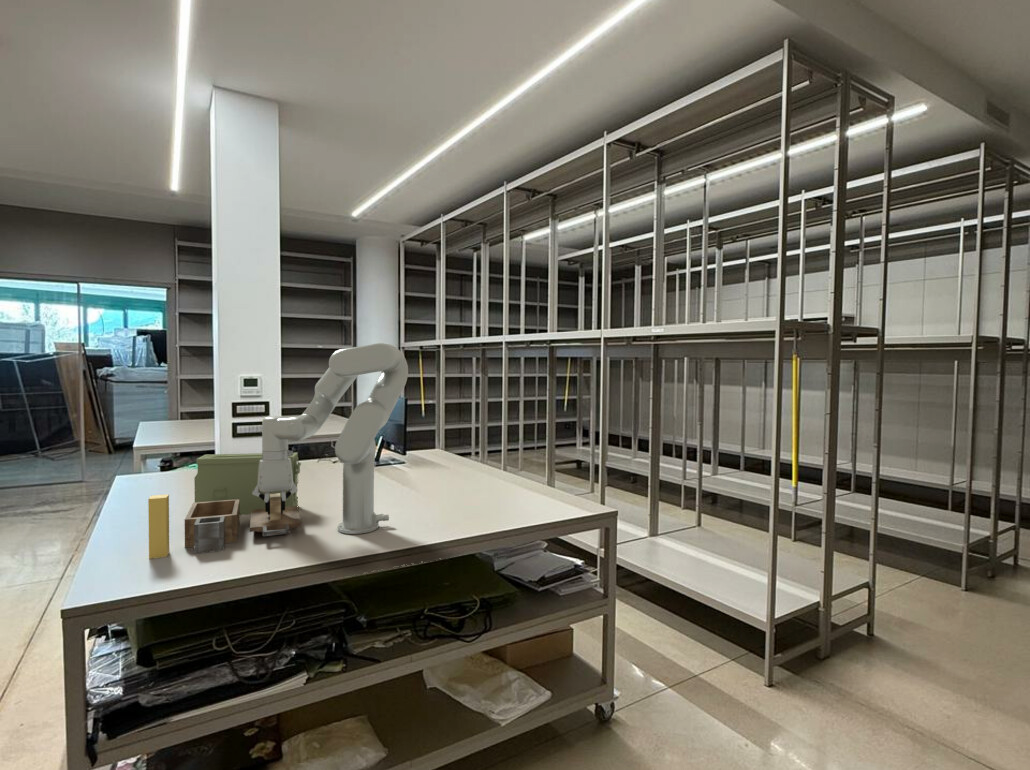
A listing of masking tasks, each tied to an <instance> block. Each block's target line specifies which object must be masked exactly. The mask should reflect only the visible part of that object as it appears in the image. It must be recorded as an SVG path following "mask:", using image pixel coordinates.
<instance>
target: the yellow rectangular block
mask: <svg viewBox="0 0 1030 770" xmlns="http://www.w3.org/2000/svg"><path fill="white" fill-rule="evenodd" d="M147 501H148V504H147V505H148V559H149V560H151V559H158V558H159V559H160V558H166V557H168V555H169V554H170V494H169V493H167V494H157V495H156V494H155V495H150V497H148V500H147Z"/></svg>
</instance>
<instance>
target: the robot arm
mask: <svg viewBox="0 0 1030 770" xmlns="http://www.w3.org/2000/svg"><path fill="white" fill-rule="evenodd" d="M379 372H380V375H379V378H378V379H377V381H376V382H375V384H374V386H373V389H372V390H371V392H370V393H369V396H368V397H367V399H366V400H364V401H363V402H361V403H359V404H357V406H355V408H354V409H353V410H352V411H351V414H350V415H349V417H348V419H347V421H346V423H345V425H344V426H343V429H342V431H341V433H340V434H339V436H338V438H337V440H336V442H335V444H334V445H335V446H334V451H335V452H334V453H335V456H336V458H337V459H338V461H340V462H341V463H343V466H342V522H341V523H339V524H338V525H337V531H338V532H339V533H341V534H347V535H348V534H349V535H358V534H366V533H371V532H374V531H375V530H378V528H379V522H387V521H389V519H390V517H389V514H384V513H379V514H377V513H375V511H374V509H375V504H374V503H375V501H374V499H375V460H376V459H375V458H376V449H377V448H376V447H377V446H376V444H377V443H376V440H375V439H376V437H377V435H378V433H379V432H380V430H381V428H383V427H384V426H385V425H386V424H387V423H388V421H389V418H390V416H391V414H392V412H393V411H394V408H395V407H396V405H397V403H398V401H399V398H400V397H401V395H402V393H403V391H404V388H405V387H406V384H407V380H408V375H409V366H408V362H407V359H406V357H405V356H404V354H403V352H401V350H400V349H399V348H398V347H396V346H395V345H392V344H390V343H384V342H380V343H378V342H377V343H371V344H366V345H359V346H354V347H348V348H341V349H338V350H335V351H334V352H333V353H332V354H331V356H330V357H329V360H328V368H327V369H326V371H325V372H324V374H322V376H321V378H319V380H318V381H317V382H316V383H315V386H314V397H313V399H312V400H311V402H310V403H309V405H308V406H307V408H306V409H305V410H304V411H303V412H302V414H301V415H298V416H294V417H286V416H283V415H273V416H266V417H264V418H263V419H262V422H261V423H262V425H261V453H262V460H260V461H259V466H258V480H257V485H256V487H255V488H254V490H253V492H252V494H253V495H255V496H258V497H260V498H261V499H262V500H263V501H264V502H265V512H268V515H270V499H269V492H281V495H282V497H281V514H283V510H285V500H286V499H287V498H288V497H289V496H290V495H291V494H293V493H295V492H297V493H298V486H297V487H296V486H295V484H294V482H293V476H292V464H291V459H290V458H288V457H289V456H291V455H293V453H294V451H293V450H289V441H292V442H301V441H303V440H305V439H308V438H310V437H313V436H314V435H315V434H317V432H318V431H319V430H320V429H321V427H322V426H323V425H324V424H325V422H326V421H328V419H329V417H330V416H331V414H332V413H333V412H334V410H335V408H336V406H337V405H338V402H339V401H340V399H341V398H342V397H343V395H345V393H346V392H347V390H348V389H349V388H350V387H351V385H352V384H353V383H354V382H355V380H356V379H357V378H358V377H359V376H360V375H366V374H367V375H368V374H371V373H373V374H374V373H379ZM258 491H259V492H258ZM285 491H287V492H286V493H285ZM260 492H262V493H260ZM263 493H265V495H264V494H263Z"/></svg>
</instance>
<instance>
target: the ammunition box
mask: <svg viewBox="0 0 1030 770" xmlns="http://www.w3.org/2000/svg"><path fill="white" fill-rule="evenodd" d="M288 458H290V459H291V464H292V476H293V482H294V484H295V486H296V487H297V488H298V484H299V482H298V477H299V474H301V473H300V472H301V467H300V466H301V465H302V463H301V462H299V452H293V455H291V456H289V457H288ZM260 460H262V452H259V453H256V452H255V453H252V452H251V453H220V454H219V453H215V454H209V453H208V454H203V455H202V456H200V457H197V458H196V465H197V473H196V475H195V476H194V477H193V478H194V480H193V481H194V503H197V502H210V501H222V500H234V499H240V514H250V515H251V510H254V509H265V502H264V501H263V500H262V499H261V498H260V497H258V496H255V495H253V494H252V492H253V490H254V488H255V487H256V485H257V480H258V466H259V461H260ZM258 492H259V491H258ZM286 492H287V491H285V493H286ZM260 493H262V492H260ZM277 493H280V498H281V497H282V495H281V492H269V499H270V494H277ZM297 493H298V491H297V492H295V493H293V494H291V495H290V496H289V497H288V498H287V499H286V500H285V507H289V506H298V505H299V504H298V503H299V500H298V499H299V498H298V496H297V495H298V494H297ZM263 494H264V495H265V493H263ZM298 507H299V506H298Z"/></svg>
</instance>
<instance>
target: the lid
mask: <svg viewBox="0 0 1030 770" xmlns="http://www.w3.org/2000/svg"><path fill="white" fill-rule="evenodd" d="M299 527H302V521H301V518H300V512H299V506H298V507H297V506H289V507H285V510H283V514H281V498H280V493H277V494H270V515H268V512H265V509H254V510H251V514H250V520H249V532H252V533H253V532H257V533H262V537H268V536H277V535H278V536H279V535H288V534H290V530H292V529H293V530H294V528H299Z"/></svg>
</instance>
